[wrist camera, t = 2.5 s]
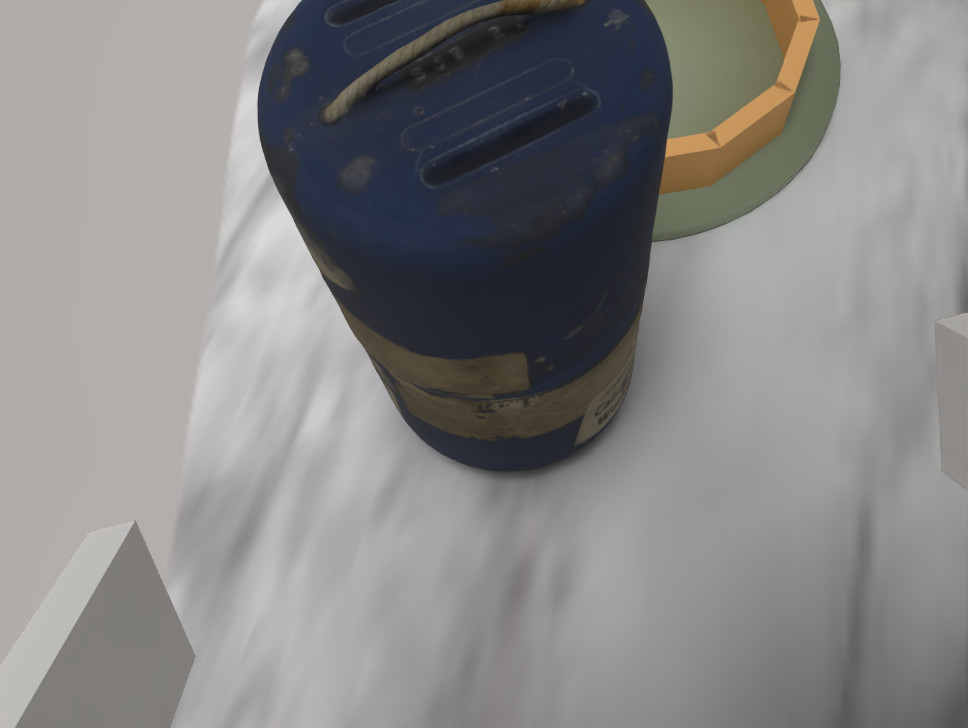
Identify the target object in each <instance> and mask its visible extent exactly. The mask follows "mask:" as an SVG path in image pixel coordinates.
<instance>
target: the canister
mask: <svg viewBox="0 0 968 728" xmlns="http://www.w3.org/2000/svg"><path fill="white" fill-rule="evenodd" d="M672 104H673V81H672V74H671V67H670V61H669V55H668V50H667V46H666V43H665V40H664V37H663V34H662V31H661V29H660V27H659V25H658V22H657V20H656V18H655V16H654V14H653V12H652V11H651V9H650V8H649V6H648V4H647V3H646V1H645V0H302V1H301V2H300V3H299V4H298V6H297V7H296V8H295V10H294V11H293V12H292V13H291V15H290V16H289V17H288V19H287V20H286V22H285V23H284V25H283V26H282V28H281V29H280V31H279V33H278V35H277V37H276V39H275V41H274V43H273V46H272V48H271V51H270V53H269V55H268V57H267V60H266V63H265V66H264V70H263V73H262V77H261V82H260V86H259V92H258V129H259V135H260V141H261V145H262V149H263V153H264V156H265V159H266V162H267V166H268V169H269V171H270V174H271V176H272V178H273V180H274V183H275V185H276V187H277V189H278V191H279V193H280V195H281V197H282V199H283V201H284V203H285V205H286V206H287V208H288V210H289V212H290V214H291V216H292V218H293V220H294V222H295V224H296V226H297V228H298V230H299V232H300V234H301V236H302V238H303V240H304V242H305V244H306V246H307V248H308V250H309V252H310V254H311V256H312V258H313V259H314V261H315V263H316V265H317V266H318V268H319V270H320V272H321V274H322V277H323V279H324V280H325V282H326V284H327V286H328V287H329V289H330V291H331V292H332V294H333V296H334V298H335V299H336V301H337V303H338V305H339V307H340V309H341V311H342V313H343V315H344V317H345V319H346V321H347V323H348V325H349V327H350V328H351V330H352V332H353V333H354V335H355V336H356V338H357V339H358V340H359V342H360V343H361V344H362V345H363V347H364V348H365V350H366V352H367V354H368V355H369V357H370V359H371V361H372V363H373V365H374V367H375V369H376V371H377V373H378V374H379V376H380V378H381V380H382V382H383V384H384V385H385V387H386V389H387V391H388V393H389V395H390V397H391V399H392V400H393V402H394V404H395V406H396V407H397V409H398V411H399V412H400V414H401V415H402V417H403V418H404V420H405V421H406V422H407V424H408V425H409V426H410V427H411V428H412V429H413V431H414V432H415V433H416V434H417V435H418V436H419V437H420V438H421V439H422V440H424V441H425V442H426V443H427V444H428V445H430V446H431V447H432V448H434V449H435V450H437V451H438V452H440V453H441V454H443V455H445V456H447V457H449V458H451V459H453V460H456V461H458V462H460V463H463V464H466V465H469V466H472V467H476V468H481V469H485V470H494V471H520V470H527V469H534V468H538V467H542V466H545V465H548V464H552V463H554V462H557V461H559V460H561V459H563V458H566V457H568V456H570V455H571V454H573V453H575V452H577V451H578V450H580V449H581V448H583V447H584V446H586V445H587V444H588V443H589V442H590V441H592V440H593V439H594V438H595V437H596V436H597V435H598V434H600V432H601V431H602V430H603V429H604V428H605V427H606V426H607V425H608V423H609V422H610V421H611V420H612V418H613V417H614V415H615V414H616V412H617V410H618V409H619V407H620V405H621V403H622V401H623V399H624V397H625V395H626V392H627V389H628V387H629V383H630V379H631V375H632V370H633V362H634V352H635V346H636V340H637V333H638V327H639V320H640V317H641V312H642V305H643V299H644V293H645V288H646V283H647V277H648V269H649V260H650V251H651V243H652V235H653V228H654V222H655V216H656V210H657V204H658V197H659V190H660V185H661V179H662V173H663V166H664V160H665V154H666V145H667V138H668V132H669V125H670V119H671V113H672Z"/></svg>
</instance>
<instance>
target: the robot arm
mask: <svg viewBox="0 0 968 728" xmlns="http://www.w3.org/2000/svg"><path fill="white" fill-rule="evenodd" d="M935 342H936V363H937V384H938V405H939V426H940V447H941V468H942V471H943V472H944V473H945V474H947V475H948V476H949V477H950V478H952V479H953V480H954V481H955V482H957V483H958V484H959V485H960V486H962V487H963V488H964V489H966V490H967V491H968V313H964V314H960V315H956V316H952V317H948V318H944V319H940V320H936V321H935ZM194 659H195V654H194V652H193V649H192V647H191V645H190V643H189V640H188V638H187V636H186V634H185V631H184V629H183V627H182V624H181V622H180V620H179V618H178V615H177V613H176V611H175V609H174V606H173V604H172V602H171V600H170V597H169V595H168V593H167V591H166V588H165V586H164V584H163V582H162V579H161V577H160V575H159V573H158V570H157V568H156V566H155V564H154V561H153V559H152V557H151V554H150V552H149V550H148V548H147V546H146V543H145V541H144V539H143V536H142V534H141V533H140V530H139V527H138V525H137V523H136V521H131V522H128V523H123V524H119V525H115V526H111V527H107V528H104V529H99V530H95V531H91V532H89V533H88V534H87V536H86V538H85V539H84V541H83V542H82V544H81V545H80V547H79V548H78V549H77V551H76V552H75V554H74V556H73V557H72V559H71V560H70V562H69V563H68V565H67V566H66V568H65V569H64V571H63V572H62V574H61V575H60V577H59V578H58V580H57V581H56V583H55V584H54V586H53V587H52V589H51V590H50V592H49V593H48V595H47V596H46V598H45V599H44V601H43V602H42V604H41V605H40V607H39V608H38V610H37V611H36V613H35V614H34V616H33V618H32V619H31V621H30V622H29V623H28V625H27V627H26V628H25V629H24V631H23V633H22V634H21V636H20V637H19V639H18V640H17V641H16V643H15V644H14V646H13V647H12V649H11V650H10V652H9V653H8V655H7V657H6V658H5V659H4V661H3V662H2V664H1V665H0V728H170V727H171V724H172V721H173V718H174V715H175V713H176V710H177V707H178V704H179V701H180V698H181V696H182V693H183V690H184V687H185V684H186V681H187V679H188V676H189V673H190V670H191V667H192V664H193V662H194Z"/></svg>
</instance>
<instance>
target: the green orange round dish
mask: <svg viewBox="0 0 968 728" xmlns="http://www.w3.org/2000/svg"><path fill="white" fill-rule="evenodd" d="M645 1H646V3H647V4H648V6H649V8H650V9H651V11H652V12H653V14H654V16H655V18H656V20H657V22H658V25H659V27H660V29H661V31H662V34H663V37H664V40H665V43H666V46H667V50H668V55H669V61H670V67H671V74H672V81H673V104H672V113H671V119H670V125H669V132H668V138H667V145H666V154H665V160H664V166H663V173H662V179H661V185H660V190H659V197H658V204H657V210H656V216H655V222H654V228H653V235H652V241H660V240H669V239H675V238H679V237H683V236H688V235H692V234H697V233H700V232H703V231H706V230H709V229H712V228H714V227H717V226H720V225H723V224H726V223H728V222H730V221H732V220H734V219H736V218H738V217H740V216H742V215H744V214H746V213H748V212H750V211H752V210H753V209H755V208H756V207H758V206H759V205H761V204H762V203H764V202H765V201H767V200H768V199H770V198H771V197H773V196H774V195H775V194H776V193H777V192H779V191H780V190H781V189H782V188H783V187H784V186H785V185H787V184H788V183H789V182H790V181H791V180H792V179H793V178H794V177H795V176H796V175H797V173H798V172H799V171H800V170H801V169H802V168H803V166H804V165H805V164H806V163H807V162H808V160H809V159H810V157H811V156H812V154H813V152H814V151H815V149H816V148H817V146H818V144H819V143H820V141H821V139H822V137H823V134H824V132H825V129H826V127H827V125H828V122H829V120H830V117H831V115H832V112H833V110H834V107H835V103H836V99H837V94H838V90H839V85H840V66H841V64H840V55H839V47H838V41H837V38H836V35H835V32H834V28H833V25H832V22H831V20H830V18H829V16H828V14H827V12H826V10H825V8H824V6H823V4H822V2H821V1H820V0H645Z"/></svg>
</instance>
